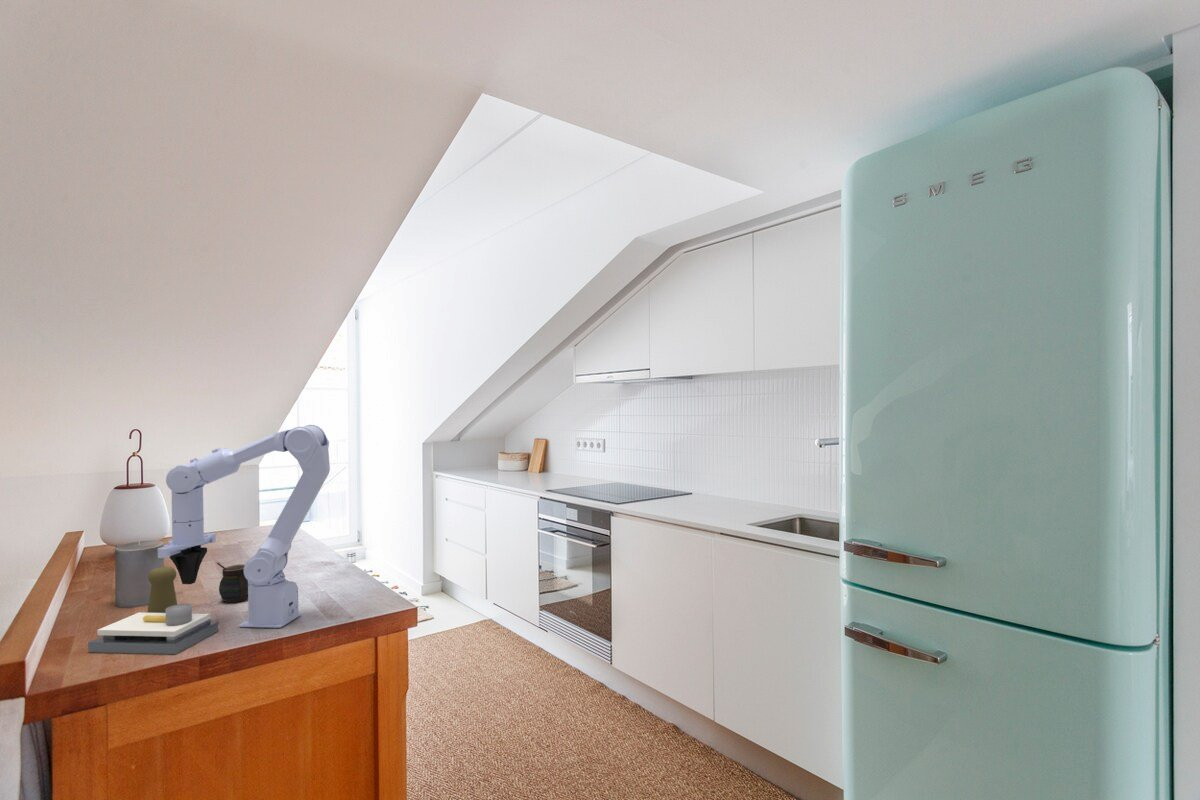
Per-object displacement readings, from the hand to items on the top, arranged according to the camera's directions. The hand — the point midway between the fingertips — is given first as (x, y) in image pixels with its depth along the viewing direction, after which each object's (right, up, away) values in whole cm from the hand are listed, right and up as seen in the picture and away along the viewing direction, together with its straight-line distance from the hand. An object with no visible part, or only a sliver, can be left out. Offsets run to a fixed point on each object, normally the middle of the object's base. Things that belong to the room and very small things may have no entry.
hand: (188, 583), depth 135 cm
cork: (-10, -10, +7) cm, 16 cm away
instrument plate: (-2, -6, -8) cm, 10 cm away
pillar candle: (-24, -10, +18) cm, 31 cm away
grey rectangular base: (-2, -10, -8) cm, 12 cm away
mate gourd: (0, -10, +18) cm, 21 cm away
